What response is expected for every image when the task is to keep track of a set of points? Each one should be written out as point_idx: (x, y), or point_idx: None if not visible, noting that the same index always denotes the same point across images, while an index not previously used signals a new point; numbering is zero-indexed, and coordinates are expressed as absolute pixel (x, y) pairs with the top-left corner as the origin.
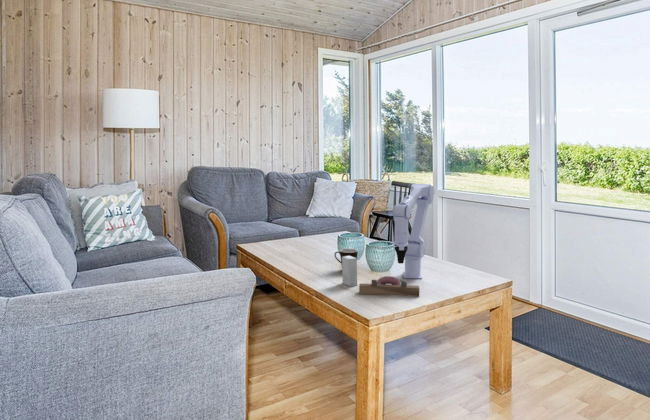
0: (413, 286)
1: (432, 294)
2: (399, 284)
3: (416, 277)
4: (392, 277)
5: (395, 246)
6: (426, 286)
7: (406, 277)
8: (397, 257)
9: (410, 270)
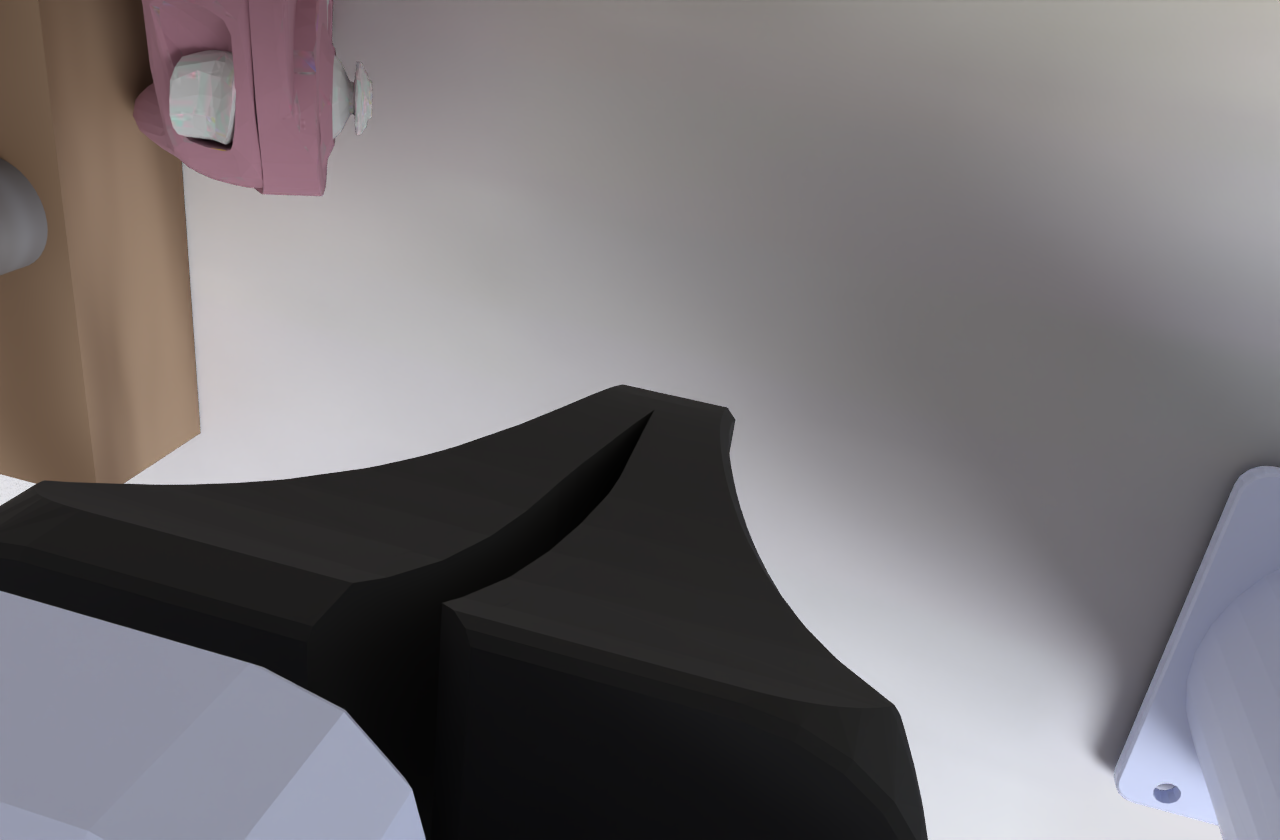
0: (33, 393)
1: None
2: (170, 151)
3: (1157, 711)
4: (200, 9)
5: (792, 816)
6: None
7: (1225, 516)
8: (483, 439)
9: (1274, 709)
